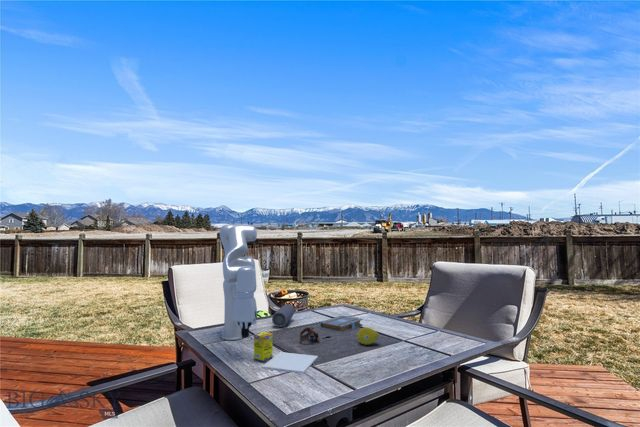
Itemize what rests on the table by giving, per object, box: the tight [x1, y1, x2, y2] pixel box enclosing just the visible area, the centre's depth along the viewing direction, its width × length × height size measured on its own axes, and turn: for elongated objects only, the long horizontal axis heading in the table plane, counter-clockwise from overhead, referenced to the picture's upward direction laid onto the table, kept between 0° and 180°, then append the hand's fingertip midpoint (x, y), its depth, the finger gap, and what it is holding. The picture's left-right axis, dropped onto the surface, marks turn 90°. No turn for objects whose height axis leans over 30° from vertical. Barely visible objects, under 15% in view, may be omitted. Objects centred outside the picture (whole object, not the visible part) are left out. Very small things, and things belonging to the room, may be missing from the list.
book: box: [318, 315, 363, 334], centre depth 202 cm, size 21×16×5 cm
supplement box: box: [253, 331, 274, 363], centre depth 151 cm, size 6×6×11 cm
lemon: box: [356, 327, 380, 346], centre depth 170 cm, size 11×8×8 cm
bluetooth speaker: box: [271, 304, 295, 328], centre depth 210 cm, size 23×9×10 cm, turn 172°
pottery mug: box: [298, 326, 321, 344], centre depth 176 cm, size 12×10×8 cm
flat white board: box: [261, 351, 319, 374], centre depth 147 cm, size 18×18×1 cm
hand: (245, 337), depth 153 cm, fingers closed
